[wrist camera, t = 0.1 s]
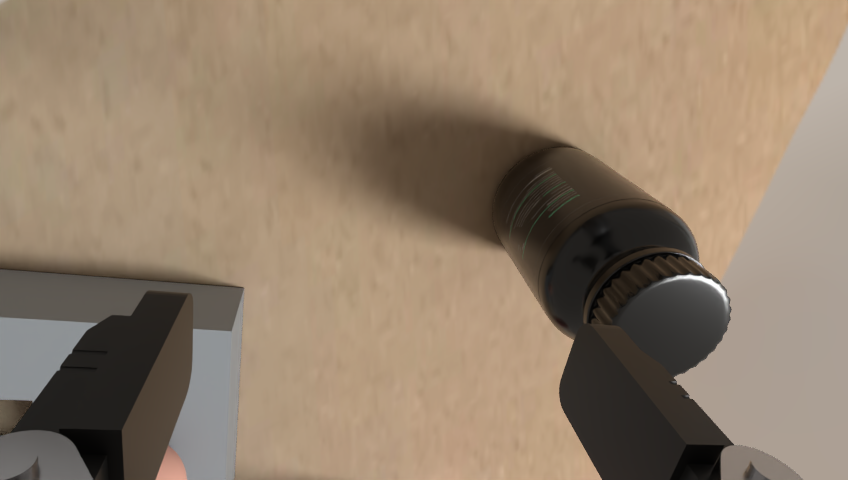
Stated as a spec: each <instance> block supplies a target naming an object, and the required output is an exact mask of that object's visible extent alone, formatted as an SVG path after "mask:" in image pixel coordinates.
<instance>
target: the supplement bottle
mask: <svg viewBox="0 0 848 480" xmlns="http://www.w3.org/2000/svg"><path fill="white" fill-rule="evenodd" d="M493 222H494V227H495V230H496V233H497V235H498V237H499V239H500V241H501V243H502V244H503V246H504V248H505V249H506V251H507V253H508V254H509V256H510V258H511V259H512V261H513V262H514V264H515V266H516V267H517V269H518V270H519V272H520V274H521V275H522V277H523V278H524V280H525V282H526V283H527V285H528V286H529V288H530V289H531V291H532V293H533V294H534V296H535V297H536V299H537V301H538V302H539V304H540V305H541V307H542V309H543V310H544V312H545V313H546V315H547V316H548V318H549V319H550V320H551V322H552V323H553V324H554V326H555V327H556V328H557V329H558V330H560V331H561V332H562V333H563V334H565V335H566V336H568V337H569V338H571V339H573V340H575V337H576V334H577V331H578V329H579V328H580V327H581V326H582V325H583V324H601V325H615V326H619V327H621V328H622V329H623V330H624V331H625V333H626V334H627V335H628V336H629V337H630V338H631V339H632V340H633V342H634V343H635V344H636V345H637V346H638V347H639V348H640V350H641V351H643V352H644V353H646V354H647V355H649V356H650V357H651V358H653V359H654V360H656V361H657V362H659V363H660V364H661V365H662V366H663V367H664V368H665V369H666V370H667V371H668V372H669V373H670V374H671V376H672V377H675V376H677V375H678V374H682V373H685V372H686V371H688V370H689V369H690V368H693V367H696V366H697V365H698V363H699V362H701V361H703V360H704V359H706V358H707V356H708V354H709V353H711V352H713V351H714V350H715V348H716V346H717V344H718V343H719V342H720V341H721V340H722V338H723V335H724V333H725V332H726V331H727V325H728V323H729V321H730V312H731V307H730V305H729V304H730V298H729V297H728V296H727V290H726V289H725V287H724V286H722V285H721V283H720V281H719V280H718V279H717V278H716V277H714V276H713V275H712V274H711V273H709V272H708V271H707V270H706V269H705V268H704V267H703V266H702V265H701V264H700V263H699V252H698V248H697V243H696V241H695V238H694V235H693V234H692V232H691V230H690V228H689V227H688V226H687V224H686V223H685V222H684V221H683V220H682V219H681V218H680V217H679V216H678V215H677V214H676V213H674V212H673V211H672V210H671V209H669V208H668V207H666V206H665V205H664V204H662V203H661V202H659V201H658V200H656V199H655V198H653V197H652V196H651V195H649V194H648V193H646V192H645V191H643V190H642V189H641V188H639V187H638V186H636V185H635V184H633V183H632V182H630V181H629V180H628V179H626V178H625V177H623V176H622V175H620V174H619V173H617V172H616V171H615V170H613V169H612V168H610V167H609V166H607V165H606V164H604V163H603V162H601V161H600V160H598V159H597V158H595V157H594V156H592V155H590V154H588V153H586V152H584V151H582V150H579V149H575V148H570V147H553V148H548V149H544V150H541V151H538V152H535V153H533V154H531V155H529V156H528V157H526V158H524V159H523V160H521V161H520V162H519V163H518V164H516V165H515V166H514V167H513V168H512V169H511V170H510V171H509V173H508V174H507V175H506V176H505V178H504V179H503V181H502V182H501V184H500V186H499V188H498V190H497V193H496V196H495V200H494V205H493Z"/></svg>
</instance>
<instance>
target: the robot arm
mask: <svg viewBox="0 0 848 480" xmlns="http://www.w3.org/2000/svg"><path fill="white" fill-rule="evenodd" d="M192 360H193V297H192V294H191V293H181V292H167V291H154V290H148V291H147V292H146V293H145V294H144V296H143V297H142V299H141V301H140V302H139V304H138V305H137V307H136V308H135V310H134V312H133V313H132V315H131V316H123V315H111V316H109V317H108V318H106V319H104V320H103V321H101V322H99V323H98V324H96V325H95V326H93V327H91V328H90V329H88V330H87V331H86V332H85V333H84V335H83V336H82V338H81V339H80V340H79V342H78V343H77V344H76V346H75V347H74V348H73V350H72V354H69V355H68V356H67V358H66V359H65V360H64V362H63V363H62V364H61V366H60V370H59V371H56V373H55V374H54V375H53V377H52V378H51V379H50V381H49V382H48V383H47V385H46V386H45V387H44V389H43V390H42V391H41V393H40V394H39V395H38V397H37V398H36V399H35V401H34V402H33V404H32V405H31V406H30V408H29V409H28V410H27V412H26V413H25V414H24V416H23V417H22V418H21V420H20V421H19V422H18V424H17V425H16V426H15V428H14V429H13V430H12V432H11V433H10V434H6V435H2V436H0V480H156V477H157V474H158V472H159V469H160V466H161V464H162V461H163V458H164V455H165V453H166V450H167V447H168V445H169V442H170V439H171V436H172V434H173V431H174V428H175V426H176V423H177V420H178V417H179V415H180V412H181V409H182V407H183V404H184V401H185V398H186V396H187V392H188V389H189V384H190V379H191V372H192ZM559 396H560V402H561V406H562V409H563V411H564V413H565V414H566V416H567V418H568V420H569V422H570V423H571V425H572V427H573V429H574V430H575V432H576V434H577V436H578V438H579V439H580V441H581V443H582V445H583V446H584V448H585V450H586V452H587V454H588V455H589V457H590V459H591V461H592V462H593V464H594V466H595V468H596V470H597V471H598V473H599V475H600V477H601V478H602V480H803V479H802V478H801V477H800V476H799V475H798V474H797V473H796V472H795V471H794V470H792V469H791V468H790V467H788V466H787V465H786V464H784V463H783V462H781V461H780V460H778V459H776V458H775V457H773V456H771V455H769V454H767V453H765V452H763V451H760V450H757V449H755V448H751V447H747V446H742V445H734V444H733V443H732V442H731V441H730V440H729V439H728V438H727V436H726V435H725V434H724V433H723V432H722V431H721V430H720V429H719V428H718V426H716V424H715V423H714V422H713V421H712V420H711V419H710V418H709V417H708V416H707V414H706V413H705V412H704V411H703V410H702V409H701V408H700V407H699V406H698V405H697V403H696V402H695V401H694V400H693V399H690V398H689V394H688V393H687V392H686V391H685V390H684V389H683V388H682V387H681V386H680V385H677V381H676V380H675V379H674V378H673V377H672V376H671V374H670V373H669V372H668V371H667V370H666V369H665V368H664V367H663V366H662V365H661V364H660V363H659V362H657V361H656V360H654V359H653V358H651V357H650V356H649V355H647V354H646V353H644V352H643V351H641V350H640V348H639V347H638V346H637V345H636V344H635V343H634V342H633V340H632V339H631V338H630V337H629V336H628V335H627V334H626V333H625V331H624V330H623V329H622V328H621V327H619V326H615V325H601V324H583V325H582V326H581V327H580V328H579V329H578V331H577V334H576V337H575V340H574V342H573V345H572V348H571V351H570V354H569V357H568V360H567V363H566V366H565V369H564V372H563V375H562V378H561V381H560V388H559Z"/></svg>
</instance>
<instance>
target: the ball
mask: <svg viewBox="0 0 848 480" xmlns="http://www.w3.org/2000/svg"><path fill="white" fill-rule="evenodd" d="M156 480H187V475H186V470H185V467H184V464H183V462H182V460H181V458H180V457H179V455H178V454H177V453H176V452H175V451H174V450H173V449H172V448H171V447H170V446H168V447H167V450H166V453H165V455H164V458H163V461H162V464H161V466H160V469H159V472H158V474H157V477H156Z"/></svg>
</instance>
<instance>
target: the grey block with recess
mask: <svg viewBox="0 0 848 480" xmlns="http://www.w3.org/2000/svg"><path fill="white" fill-rule="evenodd" d="M148 290H154V291H167V292H181V293H191V294H192V297H193V360H192V372H191V379H190V384H189V389H188V392H187V396H186V398H185V401H184V404H183V407H182V409H181V412H180V415H179V417H178V420H177V423H176V426H175V428H174V431H173V434H172V436H171V439H170V442H169V445H168V446H170V447H171V448H172V449H173V450H174V451H175V452H176V453H177V454H178V455H179V457H180V458H181V460H182V462H183V464H184V467H185V470H186V475H187V480H234V479H235V460H236V440H237V420H238V401H239V381H240V361H241V341H242V322H243V302H244V288H237V287H224V286H211V285H198V284H186V283H173V282H160V281H147V280H134V279H121V278H108V277H95V276H83V275H70V274H57V273H44V272H31V271H18V270H5V269H0V400H29V401H32V403H33V402H34V401H35V399H36V398H37V397H38V395H39V394H40V393H41V391H42V390H43V389H44V387H45V386H46V385H47V383H48V382H49V381H50V379H51V378H52V377H53V375H54V374H55V373H56V371H59V370H60V366H61V364H62V363H63V362H64V360H65V359H66V358H67V356H68V355H69V354H72V350H73V348H74V347H75V346H76V344H77V343H78V342H79V340H80V339H81V338H82V336H83V335H84V333H85V332H86V331H87V330H88V329H90V328H91V327H93V326H95V325H96V324H98V323H99V322H101V321H103V320H104V319H106V318H108V317H109V316H111V315H123V316H131V315H132V313H133V312H134V310H135V308H136V307H137V305H138V304H139V302H140V301H141V299H142V297H143V296H144V294H145V293H146V292H147V291H148ZM0 436H2V435H0Z"/></svg>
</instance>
